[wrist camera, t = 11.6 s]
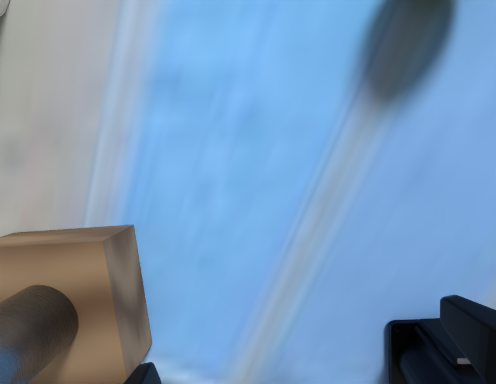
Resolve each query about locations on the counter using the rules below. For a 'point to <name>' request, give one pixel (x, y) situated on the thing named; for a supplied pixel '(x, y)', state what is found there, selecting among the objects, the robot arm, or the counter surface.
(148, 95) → the counter surface
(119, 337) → the walnut block
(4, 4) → the shot glass
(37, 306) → the tea tin
